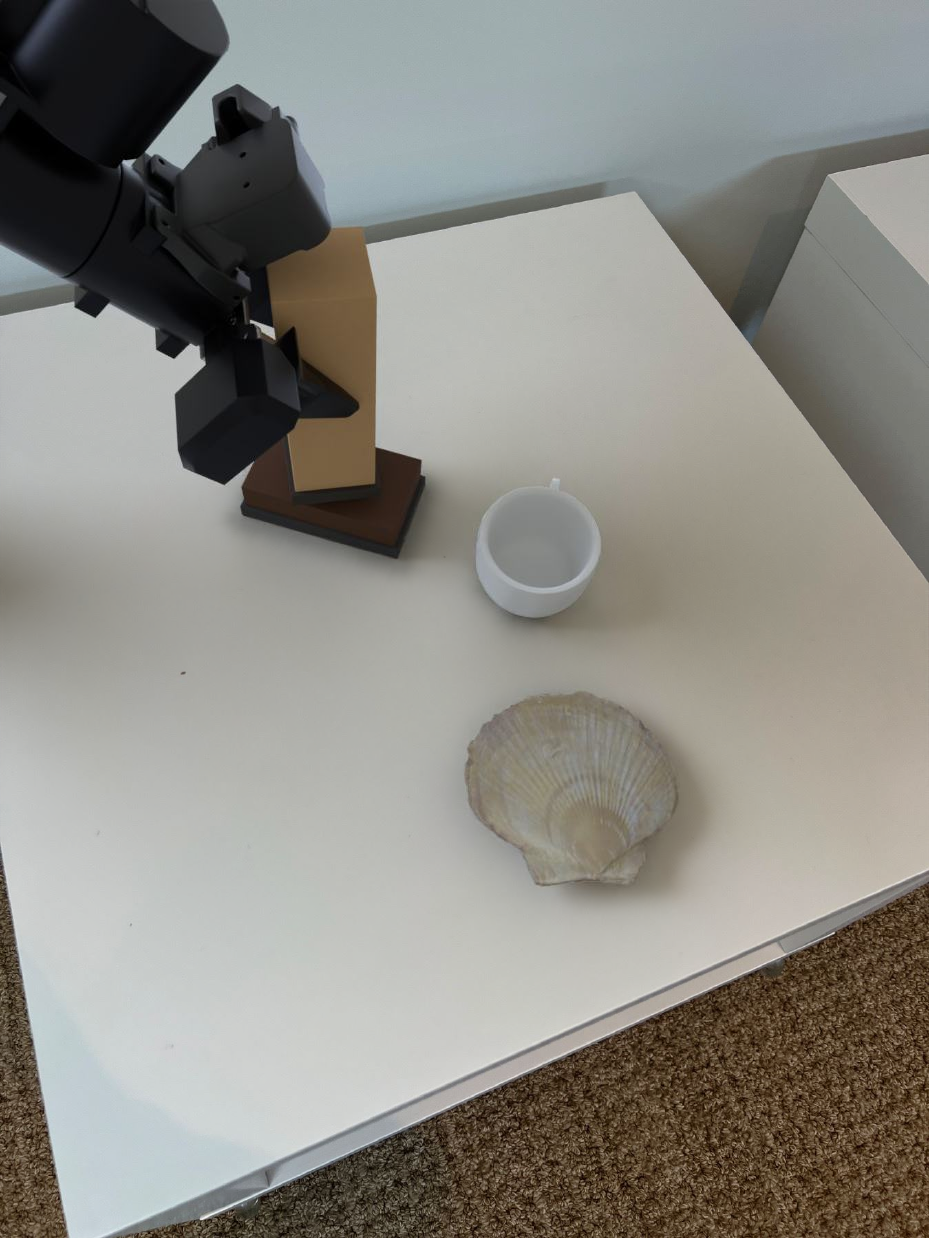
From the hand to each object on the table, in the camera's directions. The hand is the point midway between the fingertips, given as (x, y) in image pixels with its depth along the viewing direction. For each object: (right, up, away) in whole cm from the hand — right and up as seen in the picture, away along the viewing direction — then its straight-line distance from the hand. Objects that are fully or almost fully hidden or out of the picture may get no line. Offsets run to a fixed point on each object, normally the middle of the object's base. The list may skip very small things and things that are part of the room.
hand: (348, 375), depth 49 cm
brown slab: (-2, -6, +10) cm, 12 cm away
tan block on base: (-2, -4, +7) cm, 8 cm away
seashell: (+13, -24, +2) cm, 28 cm away
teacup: (+11, -11, +9) cm, 18 cm away
